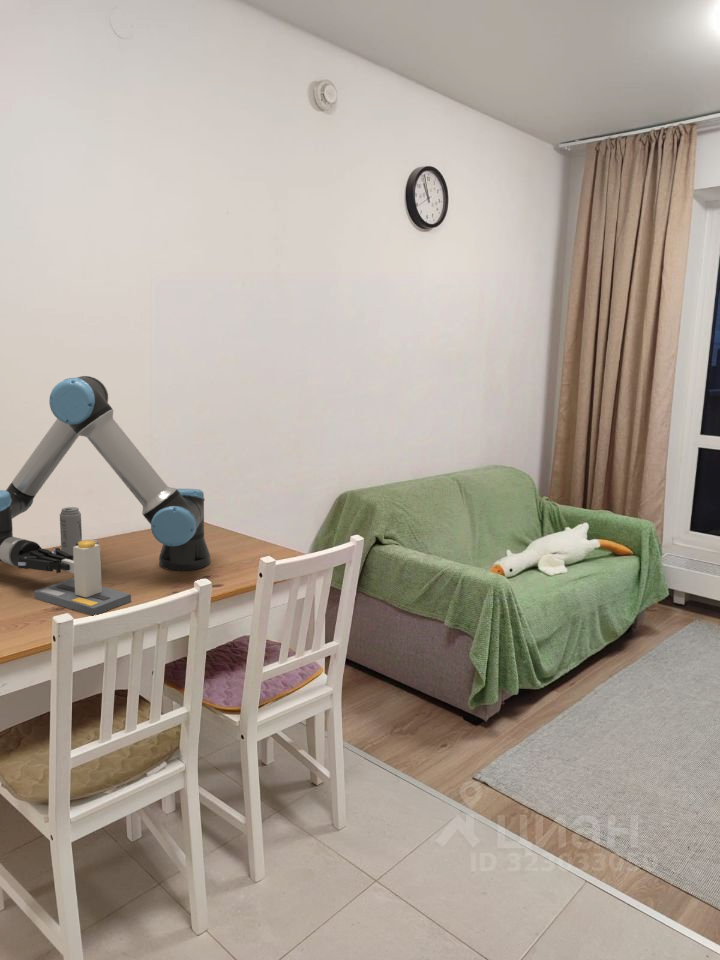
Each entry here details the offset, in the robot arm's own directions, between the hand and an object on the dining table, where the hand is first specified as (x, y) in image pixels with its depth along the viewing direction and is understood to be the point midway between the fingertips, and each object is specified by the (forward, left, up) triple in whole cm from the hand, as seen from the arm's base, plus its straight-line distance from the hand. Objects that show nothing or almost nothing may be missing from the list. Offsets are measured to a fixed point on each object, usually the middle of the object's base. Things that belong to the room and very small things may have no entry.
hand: (81, 568), depth 185 cm
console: (0, 0, -8) cm, 8 cm away
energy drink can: (+13, -38, -9) cm, 41 cm away
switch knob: (-2, +1, -6) cm, 7 cm away
